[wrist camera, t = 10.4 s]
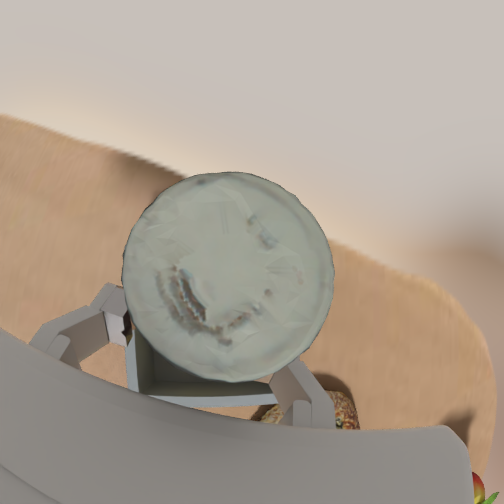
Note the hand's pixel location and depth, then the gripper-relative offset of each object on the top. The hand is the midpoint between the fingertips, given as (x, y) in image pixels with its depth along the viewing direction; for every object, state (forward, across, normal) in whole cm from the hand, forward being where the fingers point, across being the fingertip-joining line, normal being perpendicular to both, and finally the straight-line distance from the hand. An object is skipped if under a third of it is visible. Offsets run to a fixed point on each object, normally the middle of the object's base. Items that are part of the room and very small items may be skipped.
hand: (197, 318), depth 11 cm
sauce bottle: (+9, +1, +9) cm, 13 cm away
